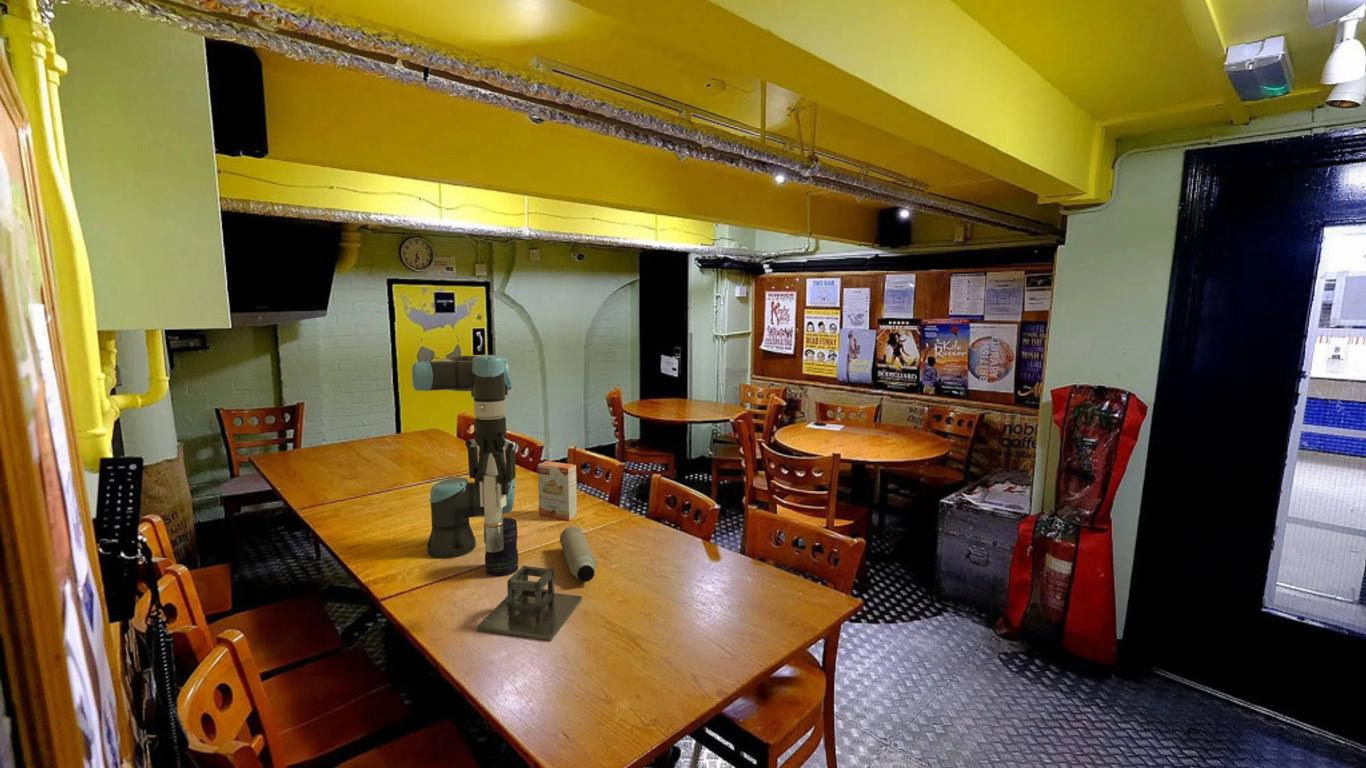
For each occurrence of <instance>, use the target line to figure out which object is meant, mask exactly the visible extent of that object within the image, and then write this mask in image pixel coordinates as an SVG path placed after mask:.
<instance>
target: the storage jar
mask: <svg viewBox="0 0 1366 768" xmlns="http://www.w3.org/2000/svg"><path fill="white" fill-rule="evenodd" d="M517 522H518V521H517V520H516V519H514V518H512V517H511V518H510V517H503V544H504V549H503V550H501V551H499V552H487V551H486V550H485V554H484V564H485V565H484V566H485V574H487V576H489V575H490V576H489V577H493V576H494V577H493V578H501V577H502V576H503V577H507V576H510V575H514V574H515V573H516V572H517V571H518V570H519V551H518V548H517V547H518V546H517V545H518V543H517V541H518V525H517V524H518V523H517ZM483 528H484V529H483V530H484V532H483V538H484V539H483V541H484V545H485V546H486V540H485V524H483ZM503 577H502V578H503Z"/></svg>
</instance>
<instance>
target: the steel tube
mask: <svg viewBox="0 0 1366 768" xmlns="http://www.w3.org/2000/svg"><path fill="white" fill-rule="evenodd" d="M499 482H500V479H499V475H498V472H489V473H485V474H483V487H484V513H485V516H484V524H485V540H486V545H485V552H486V551H487V552H499V551H501V550H503V549H504V544H503V518H504V516H503V514H502V508H498V490H497V483H499ZM484 524H483V525H484Z"/></svg>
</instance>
